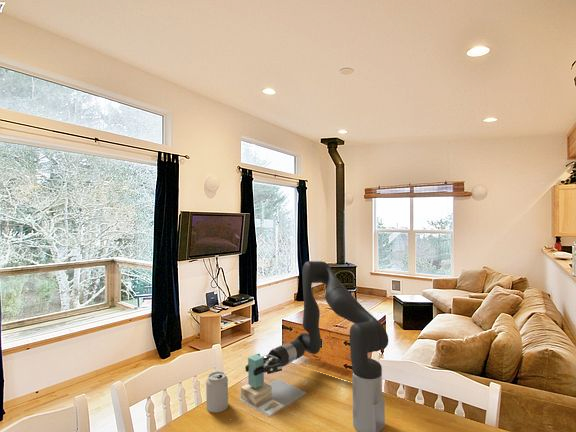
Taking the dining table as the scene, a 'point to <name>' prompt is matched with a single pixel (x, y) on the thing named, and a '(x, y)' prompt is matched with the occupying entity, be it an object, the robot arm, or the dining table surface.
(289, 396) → the mat
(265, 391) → the base block
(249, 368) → the pillar
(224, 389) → the can
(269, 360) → the robot arm
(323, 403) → the dining table surface
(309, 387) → the dining table surface
